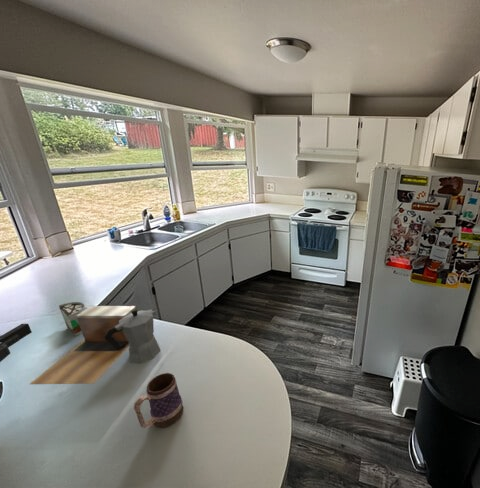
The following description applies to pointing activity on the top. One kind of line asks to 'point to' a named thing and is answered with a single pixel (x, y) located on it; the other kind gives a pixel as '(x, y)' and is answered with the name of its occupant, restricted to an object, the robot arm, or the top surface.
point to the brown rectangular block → (102, 321)
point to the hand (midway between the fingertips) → (26, 328)
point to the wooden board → (82, 363)
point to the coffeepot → (137, 335)
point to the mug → (161, 402)
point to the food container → (72, 315)
